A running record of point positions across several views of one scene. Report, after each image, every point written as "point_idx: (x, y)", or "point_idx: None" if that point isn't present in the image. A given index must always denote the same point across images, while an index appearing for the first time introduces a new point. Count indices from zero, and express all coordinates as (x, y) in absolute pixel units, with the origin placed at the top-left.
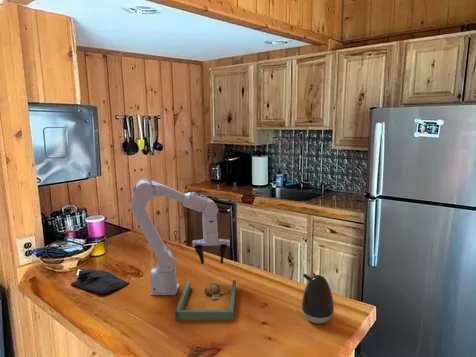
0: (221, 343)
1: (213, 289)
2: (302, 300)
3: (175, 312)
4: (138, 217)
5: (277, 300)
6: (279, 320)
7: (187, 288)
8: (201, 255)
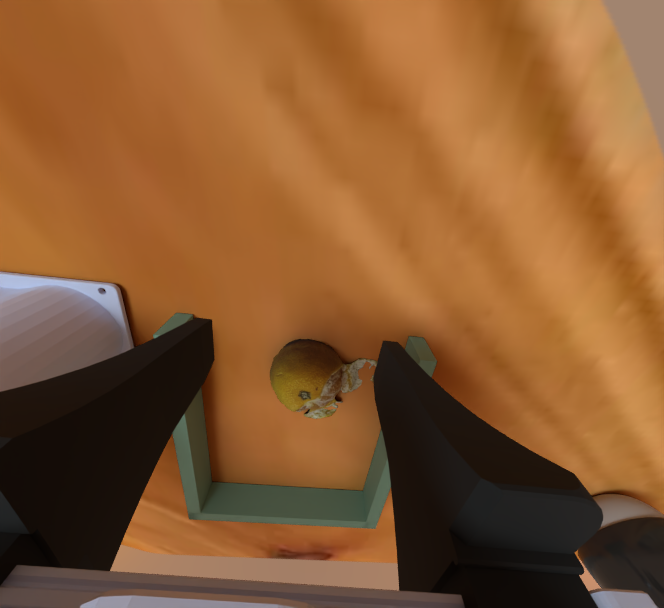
0: (334, 546)
1: (313, 409)
2: (612, 574)
3: (191, 517)
4: None
5: (547, 433)
6: None
7: None
8: (157, 453)
